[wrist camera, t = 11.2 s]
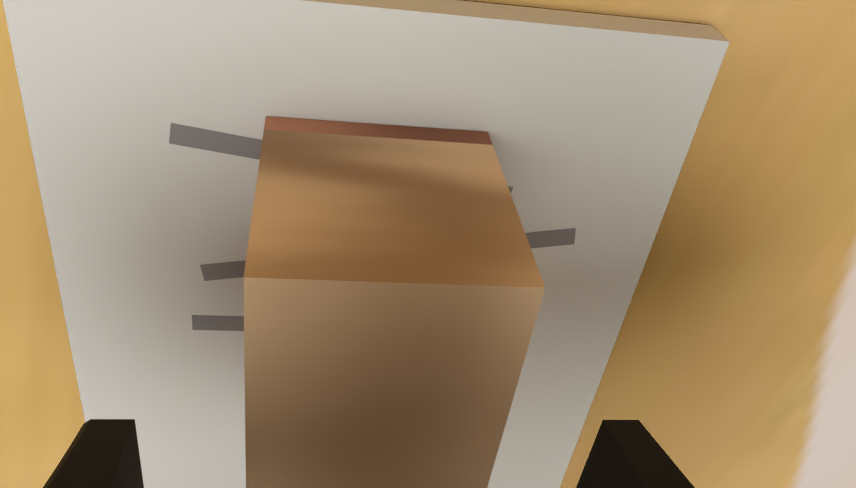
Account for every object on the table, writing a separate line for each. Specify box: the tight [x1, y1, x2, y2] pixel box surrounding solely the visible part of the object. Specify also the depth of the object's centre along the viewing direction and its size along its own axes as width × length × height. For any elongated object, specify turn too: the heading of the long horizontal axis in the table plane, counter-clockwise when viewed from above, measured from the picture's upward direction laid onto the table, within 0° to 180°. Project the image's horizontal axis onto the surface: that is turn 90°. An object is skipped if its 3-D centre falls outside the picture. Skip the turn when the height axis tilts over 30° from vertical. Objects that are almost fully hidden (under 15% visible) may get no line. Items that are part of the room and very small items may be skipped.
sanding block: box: [243, 116, 545, 488], centre depth 14 cm, size 4×7×4 cm, turn 172°
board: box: [3, 0, 730, 488], centre depth 18 cm, size 12×18×1 cm, turn 172°
